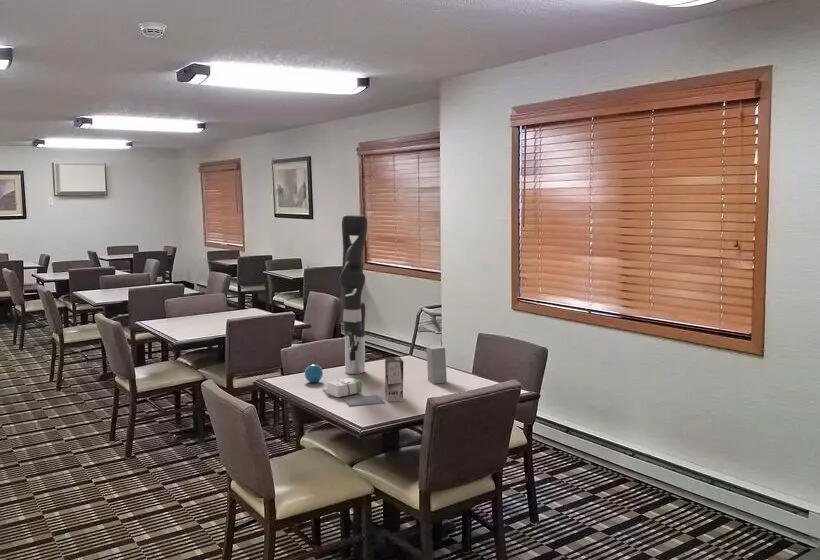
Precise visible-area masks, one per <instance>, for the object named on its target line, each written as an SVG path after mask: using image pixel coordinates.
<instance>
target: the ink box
mask: <svg viewBox="0 0 820 560" xmlns="http://www.w3.org/2000/svg"><path fill="white" fill-rule="evenodd" d="M326 385H327V387H326V389H327V393H328V394H330V395H333V396H335V397H334V398H341V397H342V398H343V397H347V396H346V395H350V396H352V395H354V394H360V393H362V390H363V389H362V387H363V386H362V381H361V380H359V379H356V378H352V377H348V378H343V379H337V380H331V381H327V382H326Z"/></svg>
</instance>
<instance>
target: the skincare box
mask: <svg viewBox="0 0 820 560" xmlns="http://www.w3.org/2000/svg"><path fill="white" fill-rule="evenodd" d="M425 349H426V366H427V367H426V368H427V381H429V382H430V383H432V384H435V385H437V384H447V383H448V381H447V379H448V378H447V359H446V358H447V357H446V348H445V347H444V346H442V345H440V344H439V345H429V346H428V345H427V346H426V348H425Z"/></svg>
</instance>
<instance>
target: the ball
mask: <svg viewBox="0 0 820 560" xmlns="http://www.w3.org/2000/svg"><path fill="white" fill-rule="evenodd" d="M323 375H324V373H323V369H322V367H321V366H320V365H318V364H310V365H308V366H307V367H306V368H305V370H304V376H305V377H304V378H305V379H306V381H307V382H309V383H312V384H313V383H314V384H315V383H318V382H320V381H321V380H322V378H323Z"/></svg>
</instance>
